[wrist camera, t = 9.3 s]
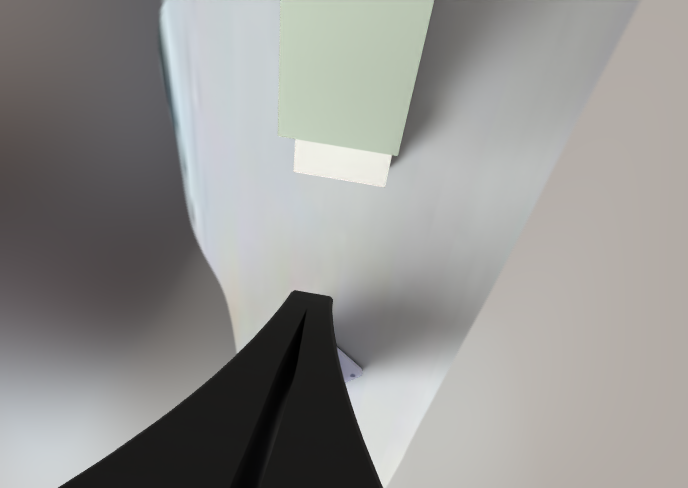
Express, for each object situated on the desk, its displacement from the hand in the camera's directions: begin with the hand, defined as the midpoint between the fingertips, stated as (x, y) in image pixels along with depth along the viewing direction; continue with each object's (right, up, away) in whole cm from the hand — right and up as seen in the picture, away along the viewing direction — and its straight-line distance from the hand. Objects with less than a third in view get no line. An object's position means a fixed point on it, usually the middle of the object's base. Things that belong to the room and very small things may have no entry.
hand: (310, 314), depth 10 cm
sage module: (+2, +10, +3) cm, 11 cm away
